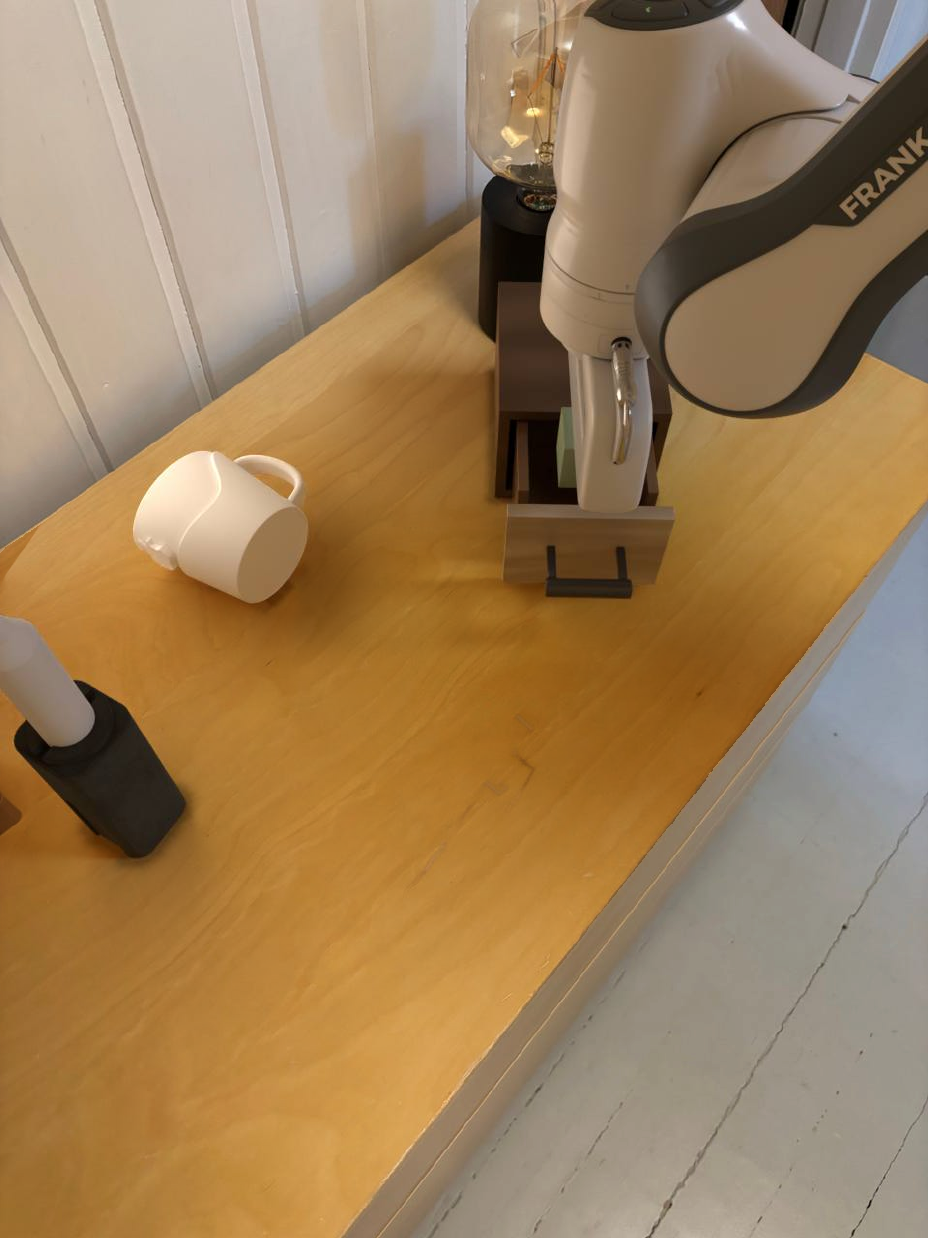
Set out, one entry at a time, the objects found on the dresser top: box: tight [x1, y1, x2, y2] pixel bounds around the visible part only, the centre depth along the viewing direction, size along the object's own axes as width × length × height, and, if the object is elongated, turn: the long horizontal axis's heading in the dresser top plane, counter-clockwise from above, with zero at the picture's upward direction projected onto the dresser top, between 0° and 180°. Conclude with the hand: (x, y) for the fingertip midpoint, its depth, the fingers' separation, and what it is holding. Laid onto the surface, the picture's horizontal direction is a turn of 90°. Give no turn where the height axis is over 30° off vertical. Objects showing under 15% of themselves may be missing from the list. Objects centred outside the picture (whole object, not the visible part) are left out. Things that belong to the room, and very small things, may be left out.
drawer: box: [502, 420, 676, 600], centre depth 70 cm, size 18×12×8 cm, turn 179°
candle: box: [0, 613, 186, 859], centre depth 52 cm, size 5×5×25 cm
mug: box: [132, 450, 309, 604], centre depth 71 cm, size 12×9×8 cm
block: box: [556, 407, 577, 488], centre depth 66 cm, size 4×4×4 cm
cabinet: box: [493, 281, 674, 499], centre depth 77 cm, size 15×13×10 cm
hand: (588, 451), depth 66 cm, fingers closed on block, 4 cm apart
